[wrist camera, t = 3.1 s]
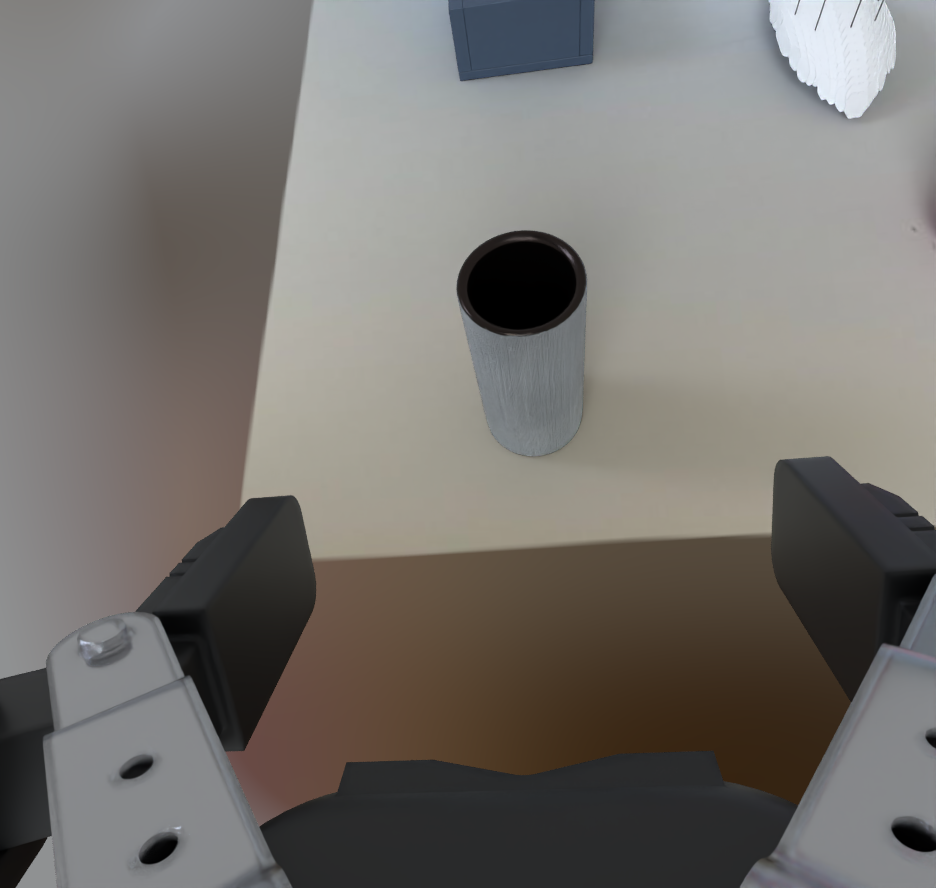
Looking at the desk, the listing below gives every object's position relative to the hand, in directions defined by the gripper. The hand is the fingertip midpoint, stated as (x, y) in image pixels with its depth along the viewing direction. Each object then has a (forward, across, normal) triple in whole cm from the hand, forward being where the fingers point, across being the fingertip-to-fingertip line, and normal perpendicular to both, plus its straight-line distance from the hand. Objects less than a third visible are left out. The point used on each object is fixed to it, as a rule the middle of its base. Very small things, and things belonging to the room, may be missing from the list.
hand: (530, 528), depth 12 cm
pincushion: (+37, -18, -10) cm, 43 cm away
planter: (+22, 0, +5) cm, 22 cm away
